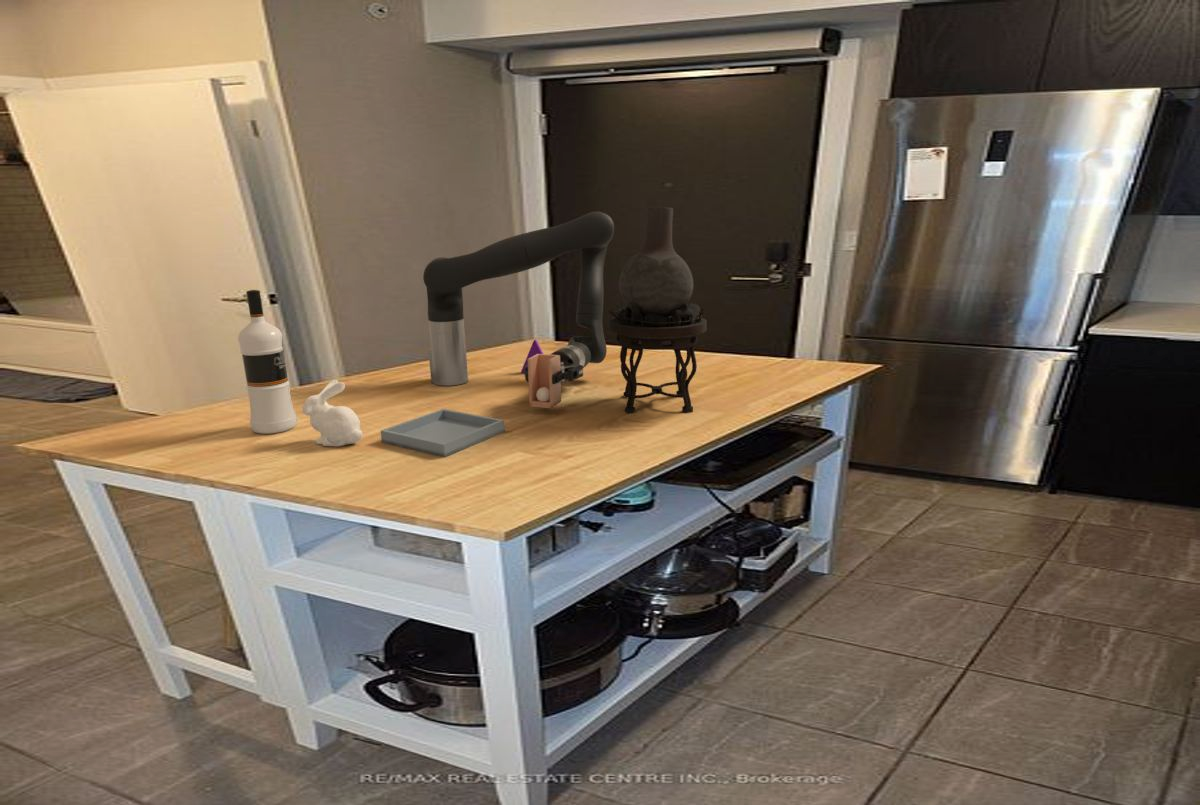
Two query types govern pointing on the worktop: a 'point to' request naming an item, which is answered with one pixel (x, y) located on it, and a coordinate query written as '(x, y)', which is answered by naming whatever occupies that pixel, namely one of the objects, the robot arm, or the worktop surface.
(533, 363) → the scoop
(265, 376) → the vodka
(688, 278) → the brazier
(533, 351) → the arrowhead
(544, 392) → the ball
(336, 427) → the rabbit
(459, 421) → the tray
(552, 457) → the worktop surface
